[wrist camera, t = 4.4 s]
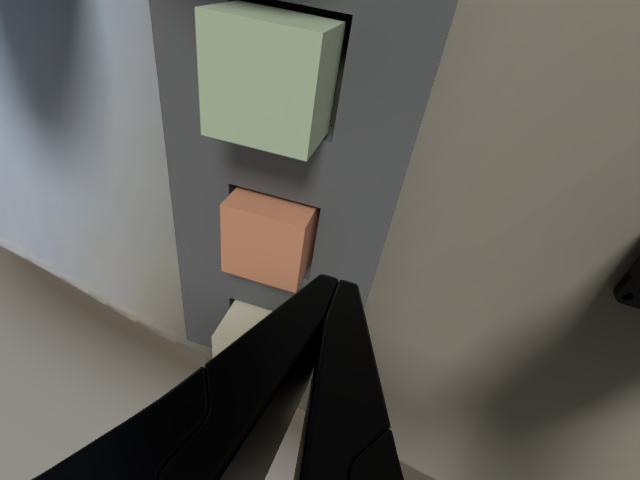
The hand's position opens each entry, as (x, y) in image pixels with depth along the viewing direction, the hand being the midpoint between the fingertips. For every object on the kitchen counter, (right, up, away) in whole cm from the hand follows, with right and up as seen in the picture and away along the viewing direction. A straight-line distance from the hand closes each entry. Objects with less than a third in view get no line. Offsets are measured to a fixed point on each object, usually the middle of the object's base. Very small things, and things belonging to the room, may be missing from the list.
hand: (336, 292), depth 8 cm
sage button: (-2, +8, +8) cm, 12 cm away
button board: (-3, +3, +14) cm, 15 cm away
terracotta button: (-3, +2, +14) cm, 15 cm away
